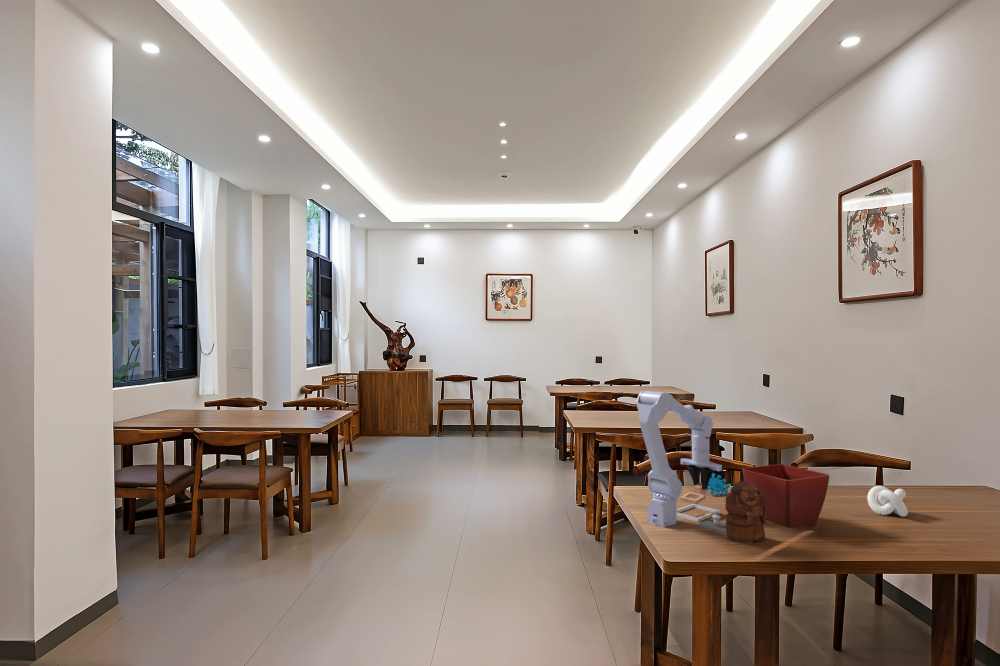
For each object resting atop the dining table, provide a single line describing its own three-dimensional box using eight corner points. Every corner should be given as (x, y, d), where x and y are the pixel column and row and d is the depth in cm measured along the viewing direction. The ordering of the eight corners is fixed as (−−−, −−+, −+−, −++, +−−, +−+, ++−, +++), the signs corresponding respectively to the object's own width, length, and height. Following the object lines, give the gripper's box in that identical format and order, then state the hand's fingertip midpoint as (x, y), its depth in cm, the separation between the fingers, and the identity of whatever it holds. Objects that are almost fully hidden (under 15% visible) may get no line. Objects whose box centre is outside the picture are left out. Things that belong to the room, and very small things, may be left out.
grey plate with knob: (722, 535, 171) (722, 522, 171) (695, 528, 178) (695, 515, 178) (736, 529, 176) (736, 517, 176) (710, 522, 183) (710, 510, 183)
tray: (697, 524, 181) (697, 518, 181) (670, 517, 189) (670, 511, 189) (720, 516, 190) (720, 510, 190) (693, 509, 198) (693, 503, 198)
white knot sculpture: (920, 519, 187) (920, 493, 187) (885, 519, 187) (885, 493, 187) (896, 510, 198) (896, 484, 199) (863, 510, 198) (862, 484, 198)
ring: (696, 504, 185) (695, 494, 184) (680, 500, 189) (679, 490, 189) (711, 495, 191) (710, 485, 191) (695, 491, 196) (695, 481, 195)
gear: (706, 492, 215) (702, 470, 222) (701, 500, 219) (696, 478, 226) (734, 496, 215) (729, 474, 222) (728, 504, 219) (723, 482, 226)
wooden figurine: (739, 549, 160) (739, 486, 160) (723, 541, 166) (723, 481, 166) (771, 544, 164) (770, 482, 164) (754, 537, 170) (753, 478, 170)
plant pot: (740, 517, 190) (740, 467, 190) (781, 511, 197) (781, 463, 197) (788, 534, 172) (788, 480, 172) (832, 527, 179) (831, 475, 179)
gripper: (726, 450, 189) (726, 490, 189) (688, 444, 200) (688, 482, 200) (715, 453, 185) (715, 494, 185) (677, 447, 196) (677, 485, 196)
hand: (700, 488), depth 192 cm, fingers closed on ring, 2 cm apart
